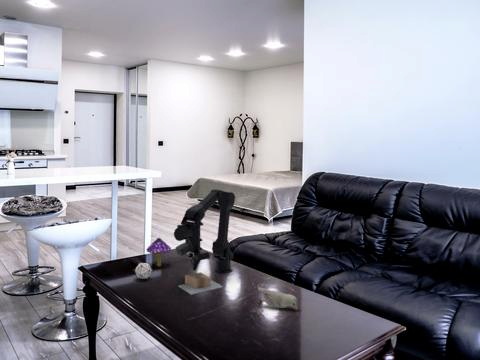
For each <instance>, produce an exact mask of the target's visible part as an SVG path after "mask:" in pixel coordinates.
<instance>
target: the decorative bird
mask: <svg viewBox="0 0 480 360" xmlns="http://www.w3.org/2000/svg"><path fill="white" fill-rule="evenodd" d="M258 292H260V293H261V296H262V300H261V299H260V297H258V300H259V301H258V302H257V305H258V308H259V307H260V306H261V305H262V303H265V304H266V305H268V306H271V307H274V308H277V309H286V308H288V307H289V308H290V307H291V308H292V309H293V310H294V311H298V309H299V308H298V307H299V301H298V298H297V297H296V296H295V295H292V294H289V293H284V292H281V291H279V290H270V289H269V288H268V289H267V288H263V287H259V286H258Z"/></svg>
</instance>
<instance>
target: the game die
mask: <svg viewBox="0 0 480 360" xmlns="http://www.w3.org/2000/svg"><path fill="white" fill-rule="evenodd" d="M150 263H151V262H150V261H148V262H141V261H138V265H137V266H136V267H135V269H133V270H132V271H133V272H135V274H136V277H137V278H136V280H137V281H138V280H139V279H141V280H142V279H144V280H145V279H146V280H147V281H149V277H150V276H151V274H152V273H154V272H155V271H154V270H153V269H152V267H151V264H150Z"/></svg>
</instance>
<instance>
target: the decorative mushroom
mask: <svg viewBox="0 0 480 360" xmlns="http://www.w3.org/2000/svg"><path fill="white" fill-rule="evenodd" d="M171 250H172V248H171V246H170V245H168V243H167V242H165V241H164V240H163V239H162V238H160V237H157V238H156V239H155V240H154V241H153V242H152V243H151V244H150V245H149V246H148V247H147V248H146V252H147V253H150V254H156V262H157V264H156V266H157V267H161V266H162V258H161V257H162V255H161V254H164V253H168V252H171Z"/></svg>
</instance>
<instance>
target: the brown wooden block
mask: <svg viewBox="0 0 480 360" xmlns="http://www.w3.org/2000/svg"><path fill="white" fill-rule="evenodd" d="M210 280H211V277H210V276H208V275H207V274H205V273H202V272H200V271H199V272H194V273H190V274H185V275H184V283H185V284H187V285H189V286H191V287H192V288H194V289H197V288H202V287H206V286H210Z"/></svg>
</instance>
